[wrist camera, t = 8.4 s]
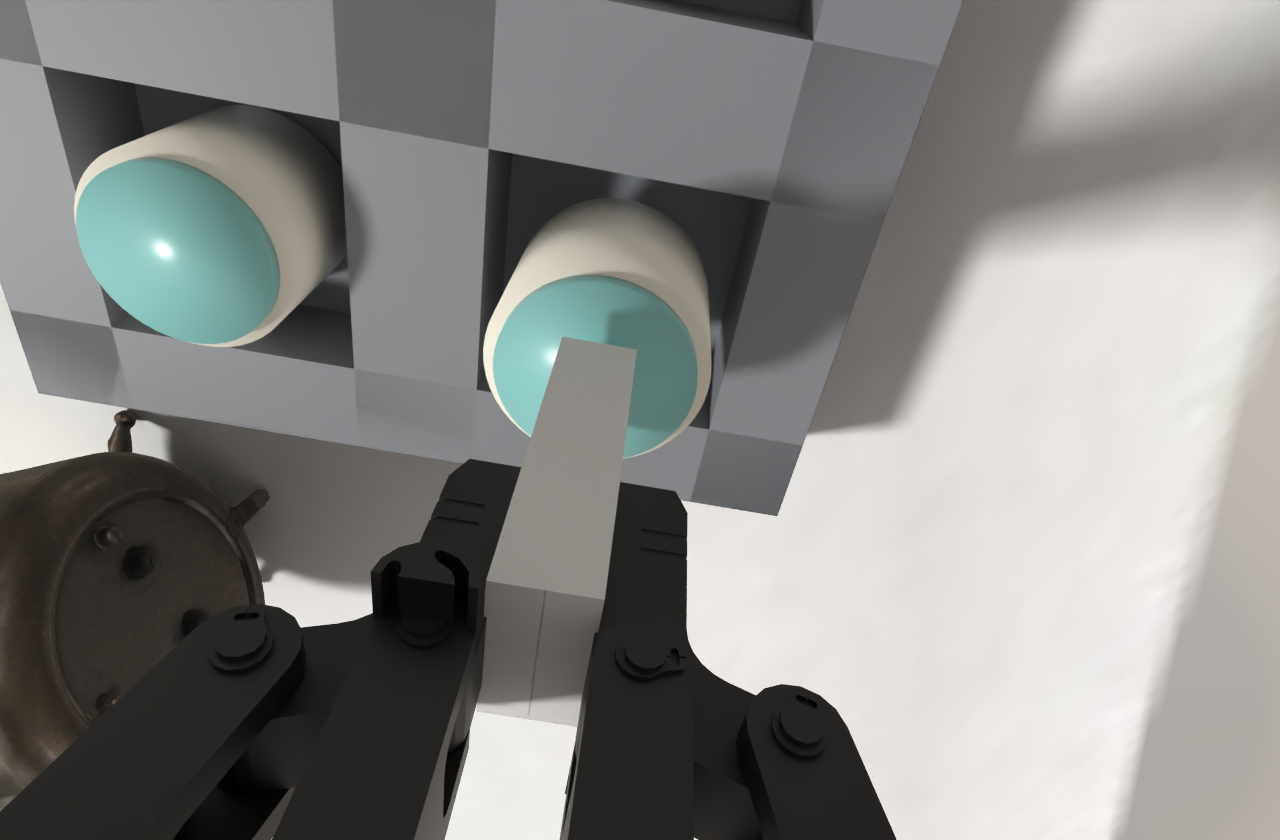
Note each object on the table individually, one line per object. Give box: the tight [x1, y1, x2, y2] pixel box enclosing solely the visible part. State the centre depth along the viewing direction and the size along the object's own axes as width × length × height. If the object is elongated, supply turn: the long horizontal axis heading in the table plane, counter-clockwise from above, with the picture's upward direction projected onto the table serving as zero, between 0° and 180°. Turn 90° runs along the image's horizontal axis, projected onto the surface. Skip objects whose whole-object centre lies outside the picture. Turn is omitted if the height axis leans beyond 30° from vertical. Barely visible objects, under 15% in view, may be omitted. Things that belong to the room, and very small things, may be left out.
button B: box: [483, 198, 711, 459], centre depth 18 cm, size 5×5×4 cm
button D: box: [74, 105, 347, 347], centre depth 19 cm, size 5×5×4 cm
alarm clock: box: [0, 410, 269, 811], centre depth 22 cm, size 11×5×16 cm, turn 14°
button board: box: [0, 0, 963, 516], centre depth 18 cm, size 22×22×4 cm
